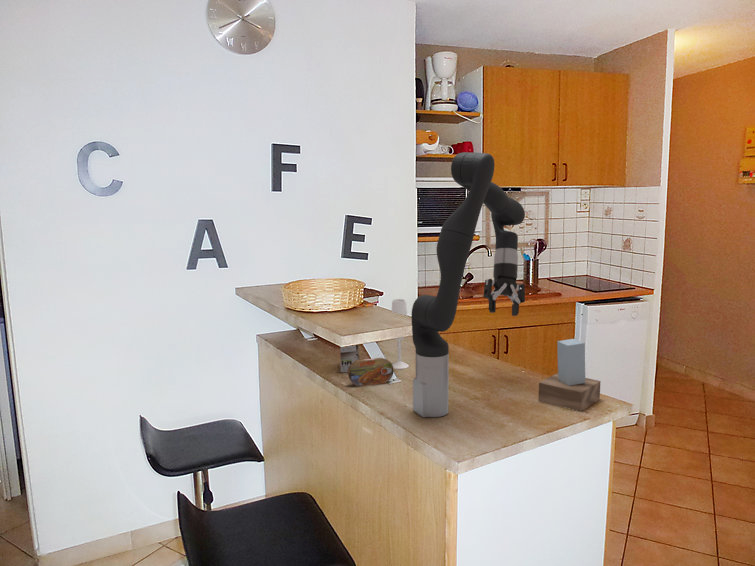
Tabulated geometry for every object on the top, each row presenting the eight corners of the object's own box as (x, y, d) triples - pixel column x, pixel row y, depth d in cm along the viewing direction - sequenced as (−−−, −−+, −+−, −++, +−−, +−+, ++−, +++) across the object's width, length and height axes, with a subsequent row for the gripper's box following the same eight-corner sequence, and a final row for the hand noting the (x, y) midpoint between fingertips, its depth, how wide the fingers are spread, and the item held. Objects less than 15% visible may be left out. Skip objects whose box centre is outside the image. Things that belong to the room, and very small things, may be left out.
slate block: (568, 385, 165) (567, 345, 163) (558, 380, 170) (557, 341, 168) (585, 382, 166) (584, 343, 164) (574, 377, 172) (573, 338, 170)
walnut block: (580, 412, 160) (581, 392, 160) (538, 402, 169) (538, 382, 168) (599, 400, 170) (600, 381, 169) (558, 390, 179) (559, 372, 178)
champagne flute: (412, 365, 205) (412, 300, 202) (400, 369, 201) (399, 302, 197) (398, 362, 210) (398, 297, 206) (386, 366, 205) (385, 300, 201)
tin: (349, 387, 183) (348, 362, 182) (347, 384, 186) (346, 359, 185) (394, 383, 187) (393, 358, 186) (391, 380, 190) (390, 355, 189)
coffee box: (358, 372, 198) (357, 327, 196) (340, 372, 198) (339, 327, 196) (360, 364, 207) (359, 321, 205) (342, 364, 207) (341, 321, 205)
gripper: (494, 259, 177) (491, 310, 175) (531, 265, 183) (529, 315, 180) (480, 262, 184) (478, 312, 182) (516, 268, 190) (514, 317, 187)
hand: (503, 314), depth 181 cm, fingers open, 8 cm apart
